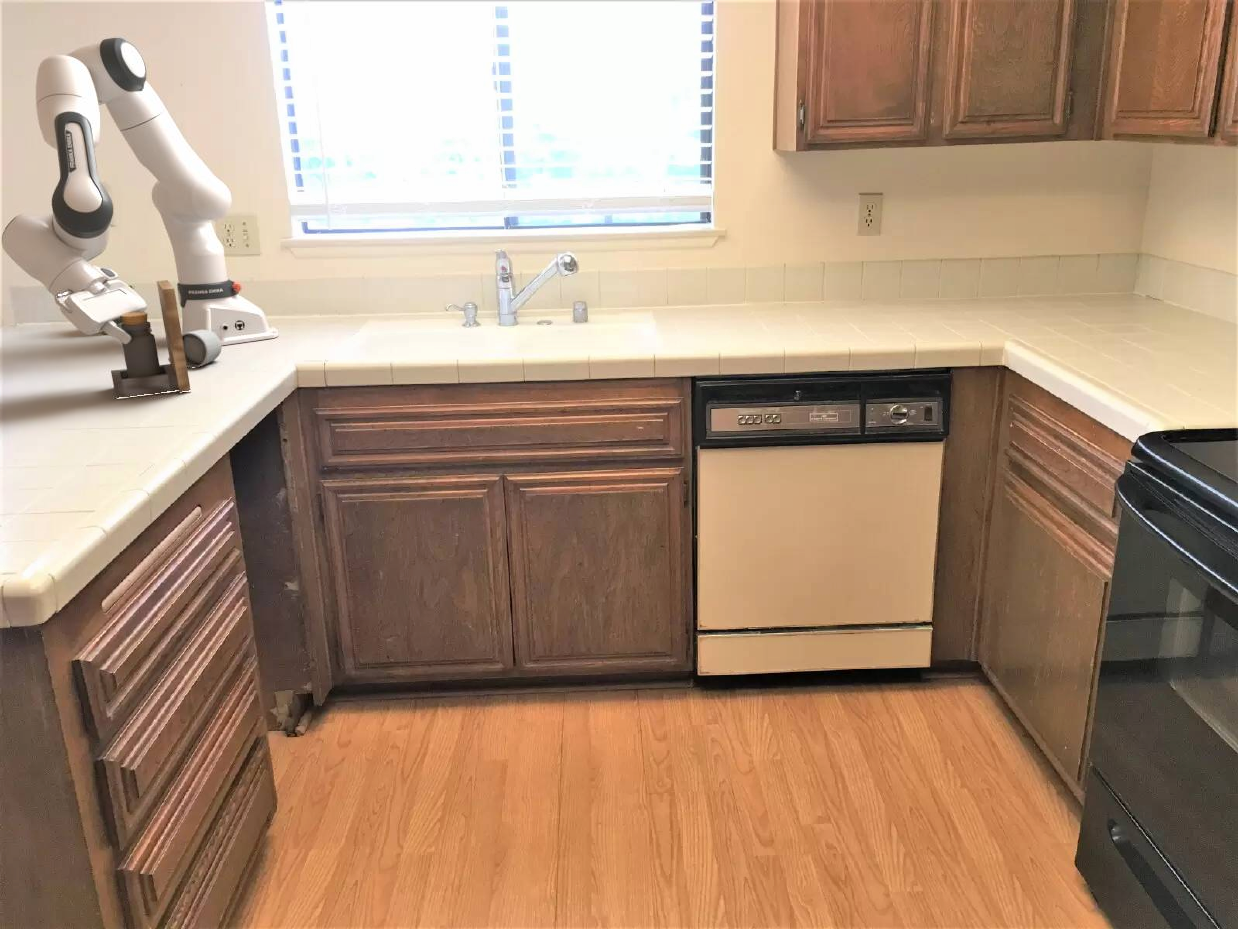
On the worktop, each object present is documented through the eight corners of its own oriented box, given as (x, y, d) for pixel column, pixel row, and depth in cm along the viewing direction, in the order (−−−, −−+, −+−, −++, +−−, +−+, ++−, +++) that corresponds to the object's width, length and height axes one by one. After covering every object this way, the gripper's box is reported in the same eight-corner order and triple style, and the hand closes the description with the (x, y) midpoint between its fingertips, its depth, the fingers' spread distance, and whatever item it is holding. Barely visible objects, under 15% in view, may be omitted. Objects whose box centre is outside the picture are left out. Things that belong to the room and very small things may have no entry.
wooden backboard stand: (183, 377, 206) (167, 280, 200) (190, 392, 195) (174, 288, 188) (113, 386, 201) (95, 285, 194) (117, 401, 189) (97, 295, 183)
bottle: (139, 386, 200) (126, 311, 195) (168, 386, 200) (156, 311, 195) (125, 393, 194) (111, 316, 190) (155, 393, 194) (141, 316, 190)
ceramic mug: (226, 359, 223) (220, 325, 220) (210, 368, 215) (203, 332, 212) (180, 361, 223) (174, 326, 221) (162, 369, 216) (155, 334, 213)
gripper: (58, 283, 181) (121, 336, 183) (116, 268, 200) (172, 316, 203) (39, 308, 182) (102, 360, 185) (99, 291, 202) (154, 338, 204)
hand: (139, 337), depth 194 cm, fingers open, 6 cm apart
